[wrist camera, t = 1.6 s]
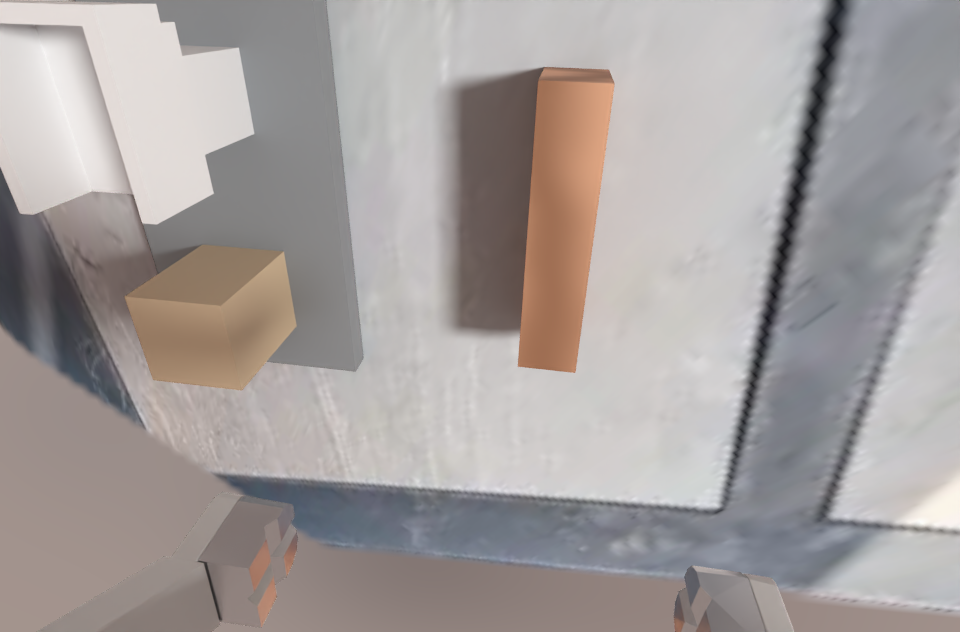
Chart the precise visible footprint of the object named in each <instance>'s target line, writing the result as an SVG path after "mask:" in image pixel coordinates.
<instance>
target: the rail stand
mask: <svg viewBox="0 0 960 632" xmlns="http://www.w3.org/2000/svg"><path fill="white" fill-rule="evenodd" d="M0 167H1V170H2V172H3V174H4V177H5V179H6V182H7V184H8V186H9V189H10V191H11V194H12V196H13V198H14V201H15V203H16V205H17V208H18V210H19V213H20V214H31V215H34V214H37V213H39V212H42V211H44V210H47V209H49V208H52V207H54V206H57V205H59V204H62V203H64V202H67V201H69V200H72V199H74V198H77V197H79V196H82V195H84V194H87V193H89V192H92V191H94V192H108V193H121V194H133V195H134V198H135V201H136V204H137V208H138V211H139V214H140V218H141V221H142V223H143V226H144V230H145V233H146V236H147V239H148V243H149V246H150V249H151V253H152V256H153V259H154V262H155V266H156V269H157V272H158V275H156V276H155V277H153V278H152V279H150V280H149V281H147V282H146V283H144V284H142V285H141V286H139V287H138V288H136V289H135V290H133V291H132V292H130V293H129V294H127V295H126V296H124V297H125V300H126V303H127V306H128V309H129V311H130V314H131V317H132V320H133V323H134V326H135V329H136V332H137V335H138V337H139V340H140V343H141V346H142V349H143V352H144V355H145V358H146V361H147V363H148V366H149V369H150V372H151V375H152V378H153V380H157V381H166V382H174V383H183V384H192V385H200V386H209V387H217V388H226V389H235V390H243V389H244V387H245V386H246V385H247V384H248V383H249V382H250V380H251V379H252V378H253V377H254V376H255V374H256V373H257V372H258V371H259V370H260V369H261V367H262V366H263V365H264V364H265V363H266V362H273V363H282V364H292V365H301V366H310V367H319V368H328V369H337V370H346V371H356V370H357V368H358V367H359V365H360V363H361V362H362V360H363V349H362V339H361V330H360V320H359V311H358V301H357V292H356V282H355V273H354V263H353V254H352V244H351V234H350V225H349V215H348V206H347V196H346V187H345V177H344V168H343V158H342V149H341V139H340V130H339V120H338V111H337V101H336V92H335V82H334V72H333V63H332V53H331V44H330V34H329V25H328V15H327V6H326V0H75V2H73V1H36V0H0Z"/></svg>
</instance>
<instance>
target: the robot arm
mask: <svg viewBox="0 0 960 632" xmlns="http://www.w3.org/2000/svg"><path fill="white" fill-rule="evenodd" d="M294 516H295V514H294V509H293V505H292V504H287V503H282V502H276V501H271V500H266V499H260V498H255V497H249V496H244V495H238V494H232V493H226V492H221V493H220V494H218V495H217V496H216V497H214V498H213V500H212V501H211V502H210V504H209V505H208V507H207V508H206V509H205V511H204V512H203V513H202V515H201V516H200V518H199V519H198V520H197V522H196V523H195V525H194V526H193V527H192V529H191V530H190V532H189V533H188V534H187V536H186V537H185V538H184V540H183V541H182V543H181V544H180V545H179V547H178V548H177V549H176V551H175V552H174V553H173V555H172V557H166V556H163V557H162V558H160V559H158V560H157V561H155V562H153V563H152V564H150V565H148V566H147V567H145V568H143V569H142V570H140V571H138V572H137V573H135V574H133V575H131V576H130V577H128V578H126V579H125V580H123V581H121V582H120V583H118V584H116V585H115V586H113V587H111V588H109V589H108V590H106V591H105V592H103V593H101V594H99V595H98V596H96V597H94V598H93V599H91V600H89V601H88V602H86V603H84V604H82V605H81V606H79V607H77V608H76V609H74V610H72V611H71V612H69V613H67V614H66V615H64V616H62V617H61V618H59V619H57V620H56V621H54V622H52V623H51V624H49V625H47V626H45V627H44V628H42V629H40V630H39V631H37V632H212V631H214V630H215V629H216V628H217V627H218V626H219V625H220V622H224V623H231V624H238V625H245V626H252V627H259V628H262V626H263V624H264V622H265V620H266V618H267V616H268V614H269V612H270V610H271V608H272V606H273V604H274V602H275V600H276V598H277V594H276V588H275V585H276V584H277V583H279V582H280V581H281V580H283V579H284V578H286V577H287V575H288V573H289V571H290V569H291V567H292V565H293V561H294V558H295V554H296V551H297V542H298V535H297V530H296V529H295V528H294V527H293V526H292V525H291V522H292V520H293V518H294ZM684 578H685V583H686V588H684V589H682V590H680V591H679V593H678V595H677V598H676V601H675V609H674V628H675V632H794V630H793V627H792V624H791V622H790V619H789V616H788V614H787V611H786V608H785V606H784V604H783V601H782V598H781V595H780V593H779V590H778V588H777V585H776V583H775V582H774V581H773V579H772V578H769V577H763V576H757V575H750V574H742V573H741V572H734V571H727V570H720V569H713V568H706V567H699V566H690V567H689V568H688V569H687V572H686V574H685V577H684Z"/></svg>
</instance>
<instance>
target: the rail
mask: <svg viewBox="0 0 960 632" xmlns="http://www.w3.org/2000/svg"><path fill="white" fill-rule="evenodd" d="M613 91H614V81H613V79H612V76H611V74H610V71H609V70H602V69H579V68H555V67H544V69H543V71H542V73H541V75H540V78H539V80H538V89H537V104H536V118H535V132H534V146H533V160H532V174H531V188H530V202H529V216H528V231H527V245H526V259H525V273H524V287H523V301H522V315H521V329H520V344H519V358H518V367H527V368H536V369H546V370H555V371H564V372H573V373H575V371H576V363H577V356H578V349H579V341H580V334H581V327H582V319H583V312H584V305H585V297H586V290H587V283H588V275H589V268H590V260H591V253H592V246H593V238H594V231H595V224H596V216H597V209H598V202H599V194H600V187H601V180H602V172H603V165H604V158H605V150H606V143H607V136H608V128H609V121H610V114H611V106H612V99H613Z"/></svg>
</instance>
